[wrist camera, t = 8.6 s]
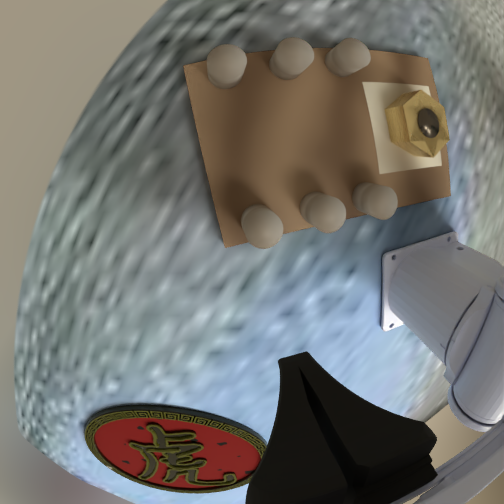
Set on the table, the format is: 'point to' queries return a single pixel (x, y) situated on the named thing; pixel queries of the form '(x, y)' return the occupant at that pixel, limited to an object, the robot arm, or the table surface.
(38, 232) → the table surface
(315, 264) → the table surface
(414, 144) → the brass nut
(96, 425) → the decorative plate
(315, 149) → the board
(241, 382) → the table surface
